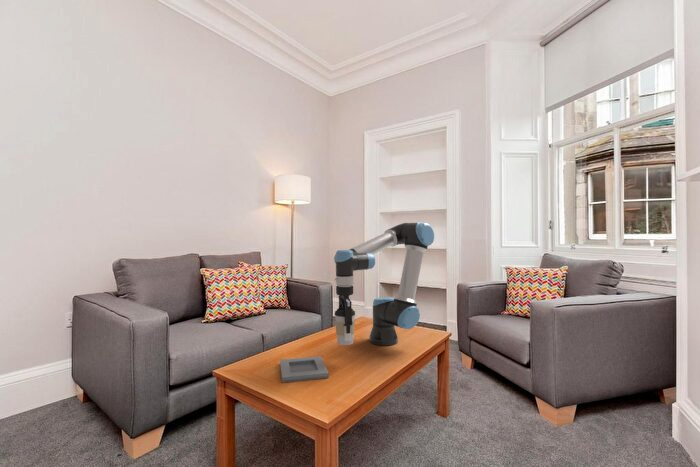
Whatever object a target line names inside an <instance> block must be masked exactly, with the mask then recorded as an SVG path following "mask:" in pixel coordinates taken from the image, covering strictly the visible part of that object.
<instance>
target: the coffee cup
mask: <svg viewBox="0 0 700 467" xmlns="http://www.w3.org/2000/svg"><path fill="white" fill-rule="evenodd" d="M334 315H335V318H334V319H335V320H334V321H335V322H334V323H335V333H336V342H337V344H338V345H341V346H349V345H352V344H353V343H354V335H355V326H356V325H355V324H356V323H355V322H356V318H355V317H356V311H355V310H354V309H353V308H352V323H353V324H352V325H351V340H350V341H345V337H344V324H345V316H344V310H343V309H341V308H339V307H338V308H337V309H336V310H335V311H334Z"/></svg>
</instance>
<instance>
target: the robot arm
mask: <svg viewBox="0 0 700 467" xmlns="http://www.w3.org/2000/svg"><path fill="white" fill-rule="evenodd" d="M434 241H435V232H434V230H433V227H432V226H431V224H429V223H427V222H421V221H419V222H403V223H400V224H397V225H394V226H393V227H389V228H388V229H386V230H385V231H384V233H381V234H380V235H377V236H375V237H373V238H371V239H369V240H367V241H365V242H362V243H360V244H358V245H356V246H353V247H352V248H350V249H339V250H337V251H336V252H335V255H334V257H333V260H334V263H335V278H334V281H335V285H336V287H335V294H336V295H337V296H338V308H341V309H343V310H344V316H345V324H344V337H345V341H350V340H351V325H352V324H353V323H352V309H353V308H352V301H351V299H350V296H352V295H353V294H354V272H356V271H363V270H366V271H367V270H371V269H373V268H374V267H375V265H376V257H375V256H374V255H375V254H377V253H379V252H381V251H383V250H385V249H387V248H390V247H393V248H394V247H396V246H398V245H404V247H405V249H406V252H405V255H404V256H405V257H404V263H403V268H402V271H401V277H400V282H399V287H398V293H397V296H395V297H393V296H386V297H385V296H384V297H377V298H374V299H373V300H372V327H371V330H370V334H369V338H368V339H369V342H370V343H371V344H374V345H377V346H393V345H396V344H398V342H399V338H398V333H397V331H396V327H398V328H400V329H403V330H411V329H413V328H414V327H416V326H417V324H418V323H419V321H420V317H421V313H420V309H419V308H418V307H417V305H418V302H417V301H416V299H415V298H416V294H417V288H418V283H419V278H420V272H421V268H422V262H423V257H424V253H426V252H427V251H428V247H429V246H432V244H433V243H434Z"/></svg>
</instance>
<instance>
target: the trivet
mask: <svg viewBox="0 0 700 467" xmlns="http://www.w3.org/2000/svg"><path fill="white" fill-rule="evenodd" d="M279 366H280V376H281V382H282V383H291V382H301V381H310V380H321V379H329V371H328V368H327V366H326V365H325V363H324V359H323V358H322V356H320V355H319V356H308V357H297V358H286V359H285V358H284V359H283V358H282V359H280V360H279Z"/></svg>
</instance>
